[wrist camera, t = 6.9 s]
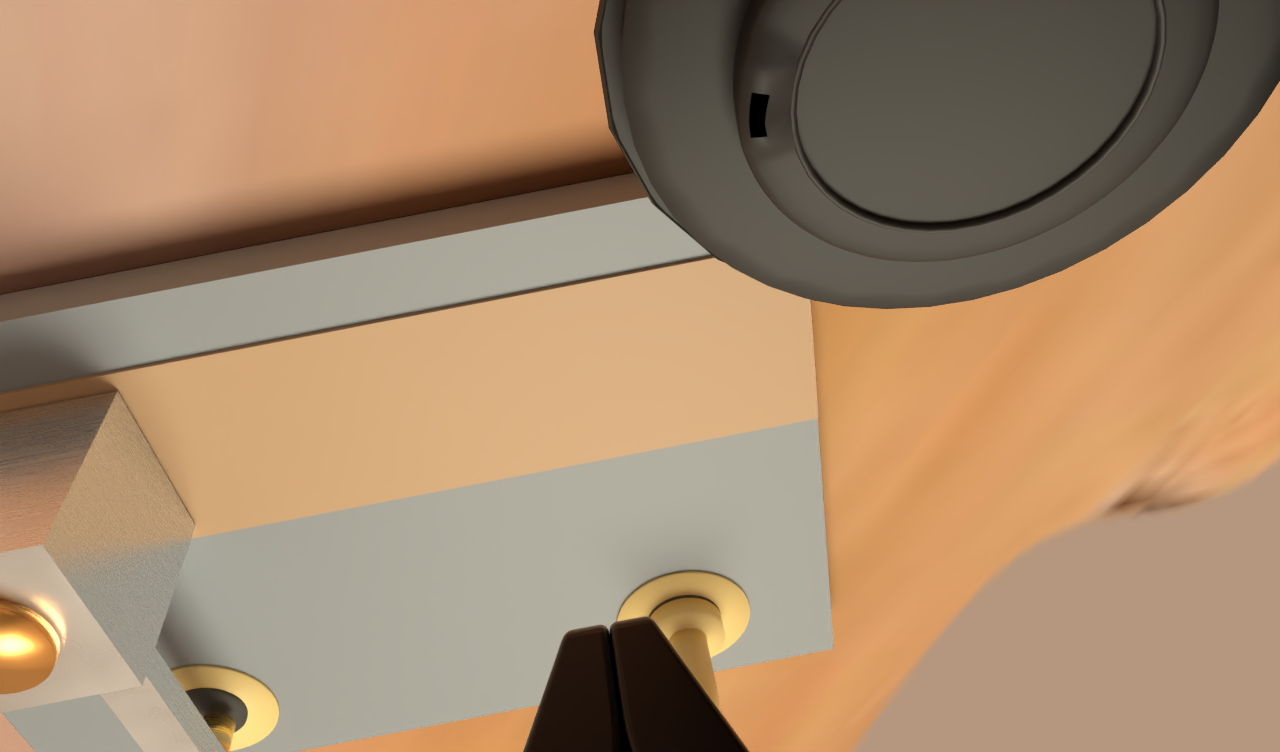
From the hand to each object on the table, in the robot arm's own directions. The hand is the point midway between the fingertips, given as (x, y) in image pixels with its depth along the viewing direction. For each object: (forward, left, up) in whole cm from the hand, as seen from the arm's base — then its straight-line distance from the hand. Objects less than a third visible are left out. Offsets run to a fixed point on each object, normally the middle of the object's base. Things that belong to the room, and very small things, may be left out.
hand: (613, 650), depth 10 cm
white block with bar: (+12, +9, -12) cm, 19 cm away
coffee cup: (-6, -5, -14) cm, 16 cm away
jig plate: (+6, +9, -13) cm, 17 cm away
